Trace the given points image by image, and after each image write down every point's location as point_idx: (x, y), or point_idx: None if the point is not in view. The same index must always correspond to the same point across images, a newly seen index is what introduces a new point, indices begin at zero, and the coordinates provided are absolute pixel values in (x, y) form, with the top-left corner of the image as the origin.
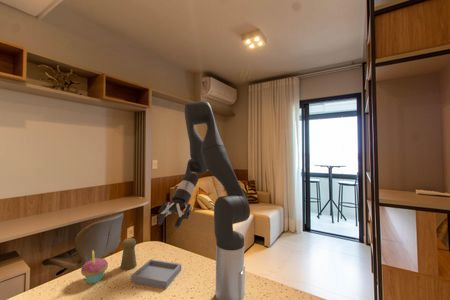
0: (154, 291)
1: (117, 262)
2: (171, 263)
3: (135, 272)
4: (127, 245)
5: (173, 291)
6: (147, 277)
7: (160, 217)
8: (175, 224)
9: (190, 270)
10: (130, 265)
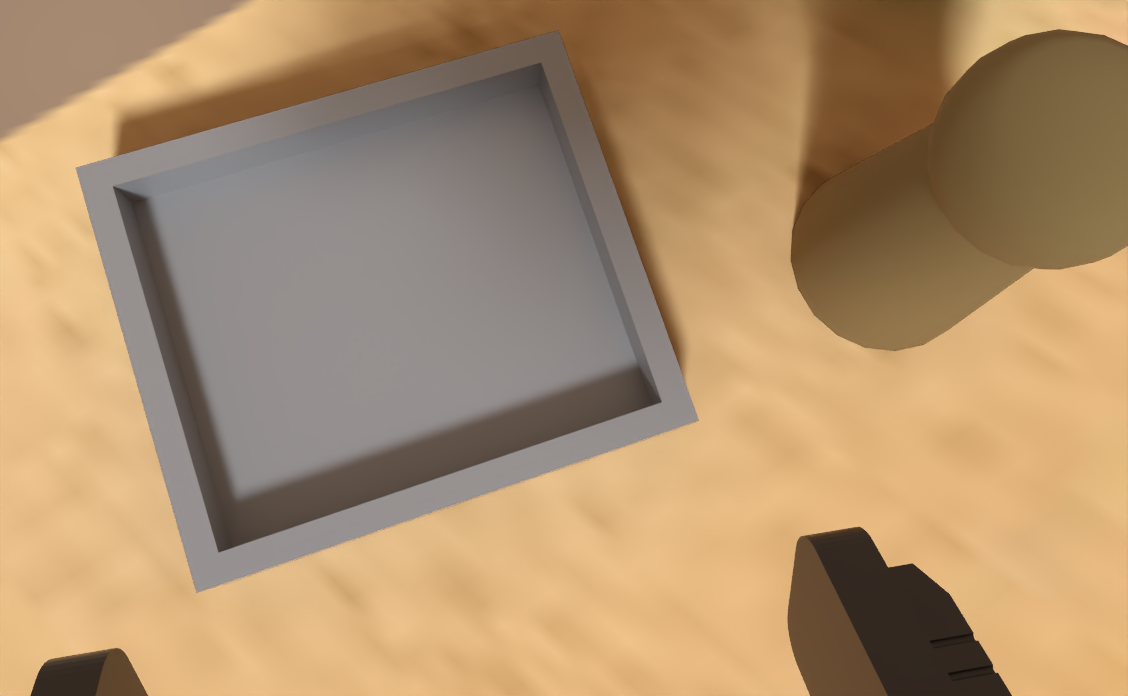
0: (196, 103)
1: None
2: (337, 515)
3: (572, 97)
4: (978, 61)
5: (4, 212)
6: (351, 106)
7: (933, 674)
8: (63, 677)
9: None
10: (818, 210)
